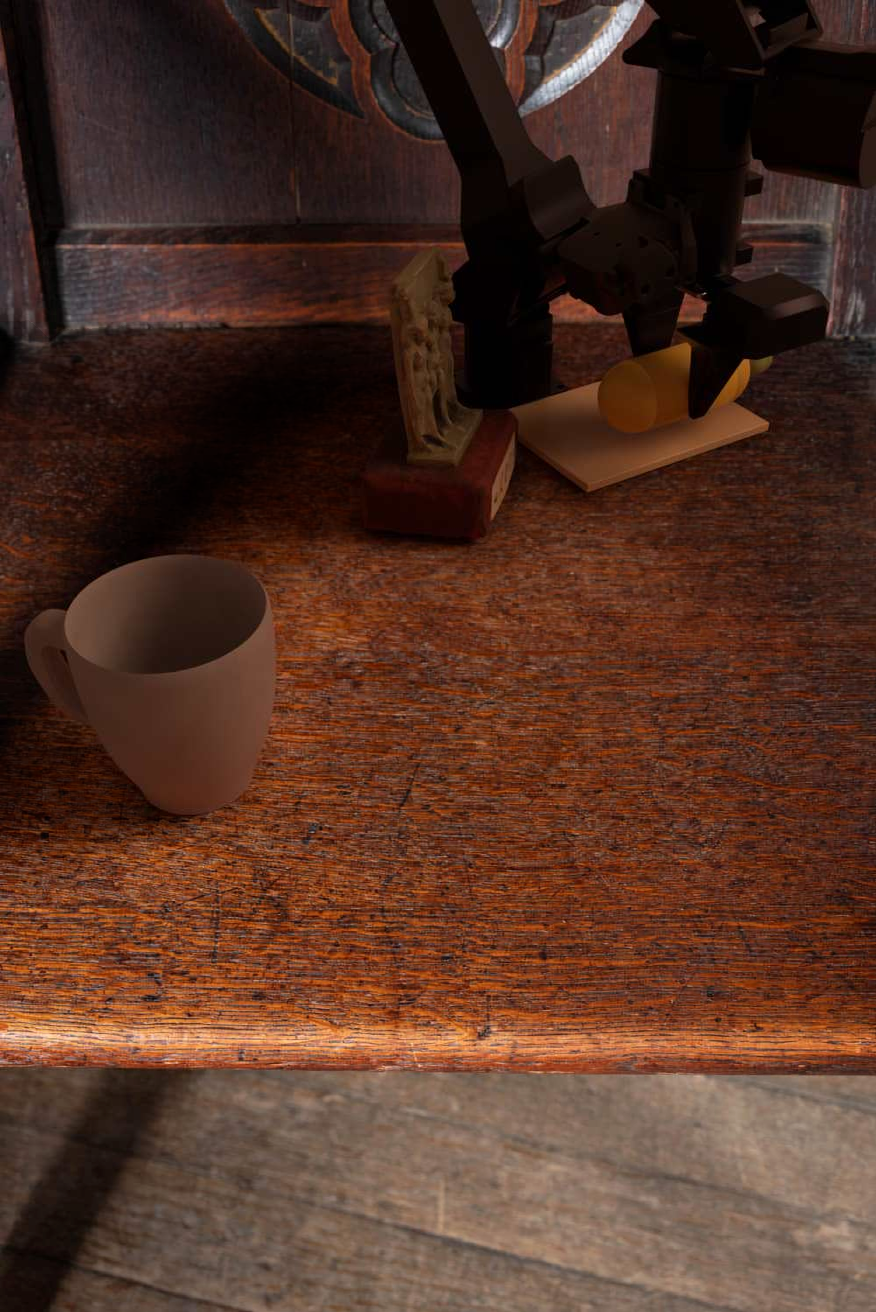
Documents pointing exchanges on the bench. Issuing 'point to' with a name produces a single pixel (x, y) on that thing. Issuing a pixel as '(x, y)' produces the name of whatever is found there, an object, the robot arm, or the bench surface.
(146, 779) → the mug
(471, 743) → the bench surface
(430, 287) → the sculpture
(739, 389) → the orange rounded cylinder
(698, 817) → the bench surface
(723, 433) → the birch board
